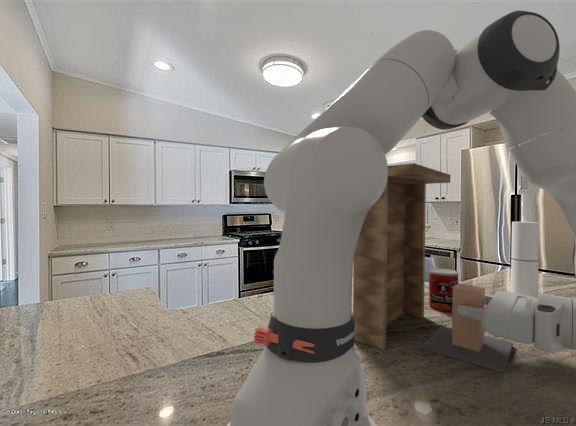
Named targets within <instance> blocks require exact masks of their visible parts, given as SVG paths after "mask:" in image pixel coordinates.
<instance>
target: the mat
mask: <svg viewBox="0 0 576 426" xmlns="http://www.w3.org/2000/svg"><path fill="white" fill-rule="evenodd" d="M513 344H514V343H513V342H510V341H507V340H502V339H498V338H493V337H490V336H485V335H484V345H483V347H482V348H481V350H480V352H478V351H474V350H470V349H467V348H463V347H459V346H456V345H452V327H448V326H443V325H441V326H440V327H439V328H438V329H437V330H436V331H435V332H434V333H433V334H432V335H431V336H430V337H429V338H428V339H426V341H425V342H424V343H422V349H423V350H424V351H429V352H432V353H436V354H439V355H442V356H446V357H449V358H453V359H457V360H460V361H462V362H466V363H469V364H472V365H475V366H479V367H483V368H487V369H489V370H493V371H497V372H499V373H503V374H505V371H506V367H507V365H508V362H509V359H510V356H511V353H512V349H513V346H514V345H513Z"/></svg>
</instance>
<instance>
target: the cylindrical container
mask: <svg viewBox="0 0 576 426" xmlns="http://www.w3.org/2000/svg"><path fill="white" fill-rule="evenodd" d="M539 241H540V222H538V221H512V222H511V250H510V251H511V255H510V257H511V259H510V261H511V263H510V268H511V269H510V292H513V293H518V294H524V295H529V296H533V297H536V298H538V293H539V292H538V291H539V256H540V255H539V251H540V248H539V247H540V246H539V244H540V243H539Z"/></svg>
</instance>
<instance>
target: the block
mask: <svg viewBox="0 0 576 426" xmlns="http://www.w3.org/2000/svg"><path fill="white" fill-rule="evenodd" d="M485 295H486V286H479V285H473V284H472V285H471V284H465V283H459V282H458V284H457V285H456V286H454V287H453V304H452V313H451V315H452V316H451V317H452V321H451V324H452V326H451V328H452V345H456V346H459V347H463V348H467V349H470V350H474V351H478V352H480V350H481V348H482V347H483V345H484V336H485V331H484V330H482V328H481V321H477V320H475V319H473V318H470V317H468V316H465V315H460V314H459V313H458V306H459V305H460V304H464V305H469V306H470V307H474V308H482V309H484V308H485V307H486V305H485Z"/></svg>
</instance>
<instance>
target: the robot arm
mask: <svg viewBox="0 0 576 426" xmlns="http://www.w3.org/2000/svg"><path fill="white" fill-rule="evenodd" d="M560 51H561V49H560V39H559V36H558V33H557V30H556V29H555V27H554V25H553V24H552V23H551V22H550V21H549V20H548V19H547V18H546V17H544V16H543V15H541V14H540V13H537V12H533V11H529V10H528V11H527V10H514V11H512V12H510V13H507V14H506V15H503V16H502V17H500V18H498V19H496V20H495V21H493V22H492V23H491V24H488V25H487V26H486V27H485V28H484V29H483V30H482V32H481V33H480V34H478V35H477V36H476V37H474V38H473V39H472V40H470V41H469V42H468V43H466V45H464V46H463V47H462V48H461V49H460V50H458V49H455V47H454V46H453V43H452V41H450V39H449V38H448V37H446V35H444V34H443V33H441V32H438V31H436V30H431V29H430V30H428V29H425V30H419V31H416V32H413V33H412V34H411V35H409V36H407V37H405V38H404V39H402V40H401V41H399V42H398V43H396V44H395V45H394V46H392V47H391V48H390V49H388V50H387V51H386V52H385V53H383V54H382V55H381V56H380V57H379V58H378V59H376V61H375V62H373V64H372V65H370V66H369V67H368V68H367V69H366V70H365V71H364V72H363V73H362V74H361V76H359V77H358V78H357V79H356V80H355V81H354V82H353V83H352V84H351V85H350V86H349V87H348V88H347V89H346V90H345V91H344V92H343V93H342V94H341V95H340V96H339V97H338V98H337V99H336V100H334V102H332V103H331V104H330V105H329V106H328V107H327V108H326V109H324V111H322V113H320V114H319V115H318V116H317V117H316V118H315V119H314V120H313V121H311V123H309V124H308V125H307V126H306V127H305V128H304V129H303V130H302V131H300V133H299V134H297V135H296V136H295V137H294V138H293V139H292V140H291V141H290V142H289V143H288V144H287V145H286V146H285V147H283V148H282V149H281V150H280V151H279V152H278V153H277V154H276V155H275V156H274V157H273V158H272V160H271V161H270V163H269V164H268V166H267V168H266V171H265V175H264V178H263V188H264V191H265V195H266V196H267V198H268V199H269V201H270V203H272V205H273V206H274V207H275V208H277V209H278V210H279V211H281V212H283V213H284V220H283V225H282V230H281V231H282V232H281V235H280V242H279V244H278V245H279V246H278V249H277V252H276V253H275V256H274V259H273V311H272V312H271V314H270V317H269V322H268V324H267V328H265V327H263V326H258V327H256V328H255V332H254V334H253V335H254V336H253V340H254V341H255V343H257V344H263V345H265V347H264V349H263V350H262V352H261V353H260V356H259V357H258V359H257V360H256V361H255V364H254V366H253V367H252V369H251V371H250V372H249V374H248V375H247V377H246V379H245V380H244V383H243V384H242V385H241V387H240V389H239V390H238V392H237V394H236V396H235V397H234V399H233V403H232V405H231V406H232V407H231V412H230V420H229V422H228V423H227V424H226V426H378V425H377V424H376V422H375V421H374V420H373V419H372V417H370V416H369V415H368V408H367V407H368V406H367V405H368V403H367V388H366V371H365V366H364V365H363V363H362V361H361V360H360V359H359V357H358V355H357V353H356V351H355V348H354V346H355V332H356V327H355V320H354V316H353V303H352V301H353V298H352V297H353V273H354V255H355V250H356V246H357V242H358V238H359V235H360V232H361V229H362V225H363V223H364V220H365V217H366V215H367V213H368V211H369V210H370V209H371V207H372V206H373V205H374V204H375V203H376V201H377V200H378V199H379V198H380V196H381V195H382V193H383V191H384V189H385V186H386V183H387V177H388V166H389V164H388V160H387V156H386V154H388V153H389V152H391V151H392V150H393V149H394V148H395V147H396V146H397V145H398V144H399V143H400V141H402V139H404V137H405V136H406V135H407V134H408V132H409V131H410V130H411V129H412V128H413V127H414V125H416V124H417V122H418V121H420V119H421V118H422V119H423V120H424V121H425V122H426V123H428V125H430V126H432V127H434V128H436V129H438V130H443V131H445V130H446V131H447V130H453V129H456V128H460V127H462V126H464V125H466V124H467V123H469V122H470V121H473V120H475V119H478V118H479V117H481V116H484V115H485V114H487V113H489V115H491V116H492V117H494V119H496V120H497V121H498V126H499V127H500V128H499V129H500V132H501V135H502V137H503V140H504V142H505V145H506V147H507V149H508V152H509V153H510V157H512V159H513V161H514V163H515V165H516V166H517V168H518V169H519V171H520V172H521V174H522V175H523V176H524V177H525V178H526V180H528V182H529V183H530V184H532V185H534V186H535V187H538V188H540V189H541V190H543V191H545V192H546V193H548V195H549V196H551V198H552V199H553V200H554V202H555V203H556V205H557V206H558V208H559V210H560V213H561V214H562V216H563V218H564V220H565V222H566V224H567V227H568V229H569V230H570V231H569V232H570V233H571V235H572V237H573V242H574V243H573V249H572V250H573V251H572V259H571V260H572V263H573V264H572V265H573V268H574V272H575V275H576V90H575V88H574V87H573V85H572V84H571V83H570V82H569V80H568V79H567V78H566V77H565V76H564V75H563V74H562V73H561V72H560V71H559V70H558V63H559V60H560ZM458 313H459V314H460V315H465V316H468V317H470V318H473V319H475V320H477V321H481V328H482V330H484V332H486V333H488V334H490V335H493V336H497V337H498V338H502V339H506V340H508V341H513V342H517V343H520V344H521V343H522V344H526V345H529V344H530V345H531V344H533V347H534V348H535V349H536V350H540V351H544V352H549V353H550V352H553V351H554V350H557V349H561V348H564V349H568V350H572V351H576V297H567V296H564V295H563V296H561V295H555V294H549V293H541V292H538V298H536V297H533V296H529V295H524V294H518V293H513V292H511V291H505V290H497V291H496V292H495V293H494V295H489V294H485V308H484V309H482V308H474V307H470V306H469V305H464V304H460V305H459V306H458Z"/></svg>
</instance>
